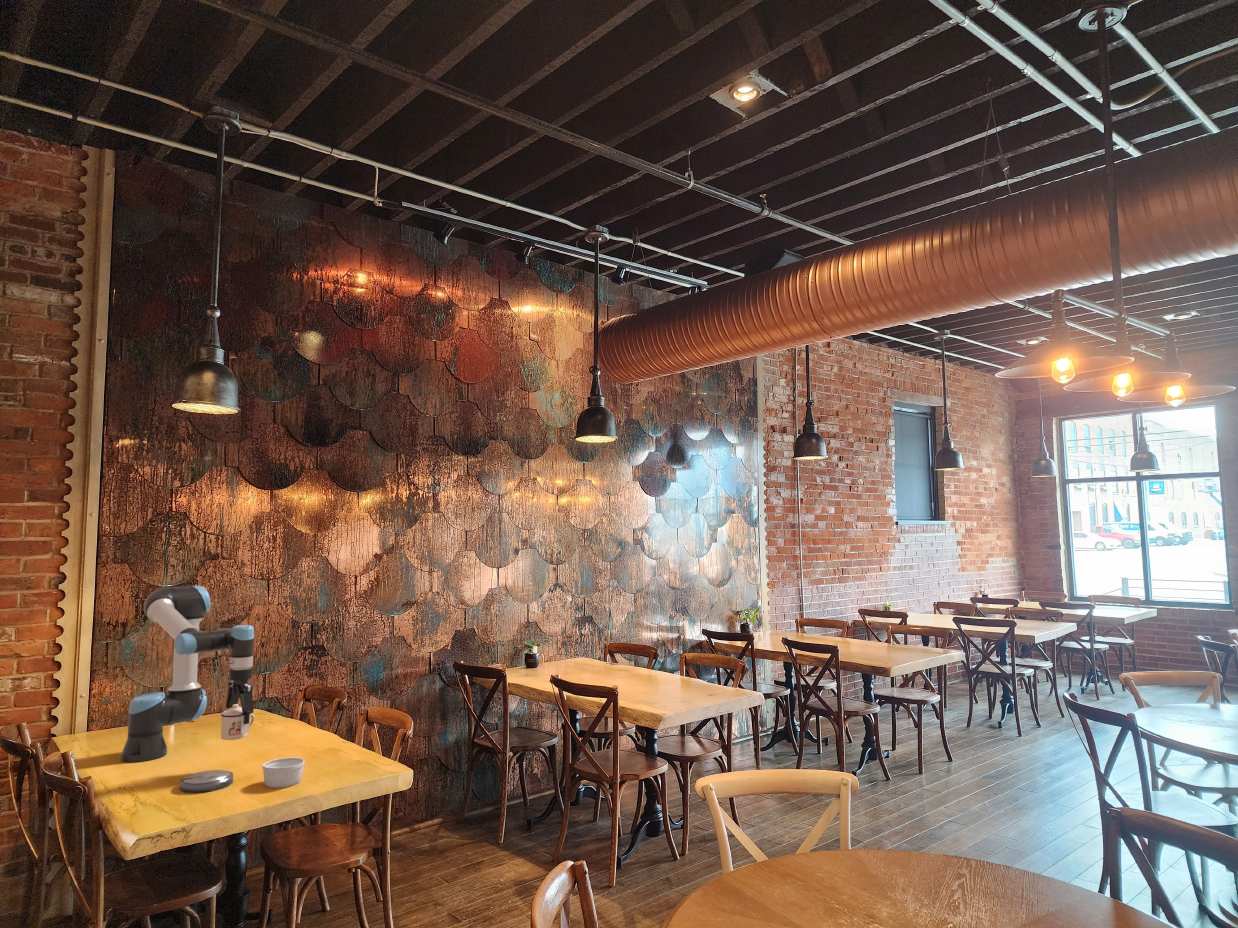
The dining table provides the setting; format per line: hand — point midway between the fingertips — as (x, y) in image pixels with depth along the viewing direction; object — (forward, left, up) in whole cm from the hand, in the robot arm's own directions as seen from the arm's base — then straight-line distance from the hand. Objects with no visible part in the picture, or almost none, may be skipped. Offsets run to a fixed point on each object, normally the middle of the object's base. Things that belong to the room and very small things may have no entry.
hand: (238, 730), depth 276 cm
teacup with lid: (0, 0, -2) cm, 2 cm away
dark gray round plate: (+10, -15, -14) cm, 23 cm away
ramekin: (+29, +2, -14) cm, 33 cm away
